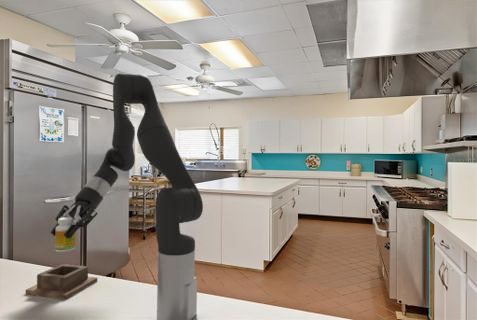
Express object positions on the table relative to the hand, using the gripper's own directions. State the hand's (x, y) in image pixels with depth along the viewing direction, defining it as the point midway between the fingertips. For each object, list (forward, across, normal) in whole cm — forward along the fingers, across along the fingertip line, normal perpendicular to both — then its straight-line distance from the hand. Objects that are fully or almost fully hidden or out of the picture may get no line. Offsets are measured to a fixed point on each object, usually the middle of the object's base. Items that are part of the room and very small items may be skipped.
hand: (59, 235), depth 90 cm
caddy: (+11, 0, +12) cm, 16 cm away
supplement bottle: (+2, 0, +5) cm, 5 cm away
